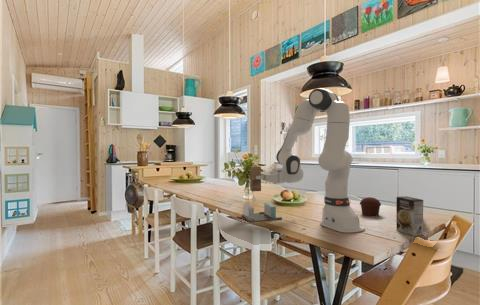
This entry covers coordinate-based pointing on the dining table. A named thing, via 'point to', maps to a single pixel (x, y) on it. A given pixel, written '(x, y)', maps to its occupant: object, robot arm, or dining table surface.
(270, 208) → the sliding jaw
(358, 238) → the dining table surface
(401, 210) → the coffee box
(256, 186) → the walnut block
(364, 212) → the muffin
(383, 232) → the dining table surface
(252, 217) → the vise
